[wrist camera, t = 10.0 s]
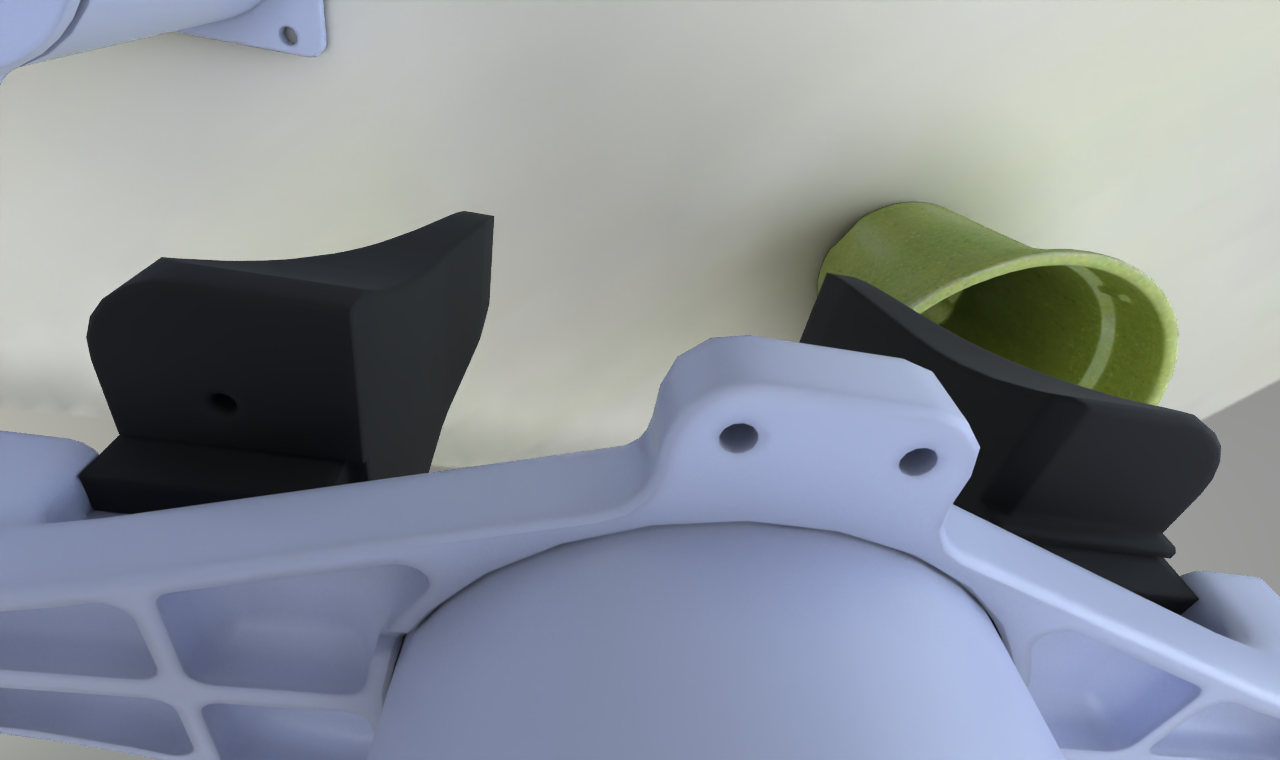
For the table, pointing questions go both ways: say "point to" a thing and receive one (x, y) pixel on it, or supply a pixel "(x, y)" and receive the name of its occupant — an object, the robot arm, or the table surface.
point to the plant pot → (1019, 297)
